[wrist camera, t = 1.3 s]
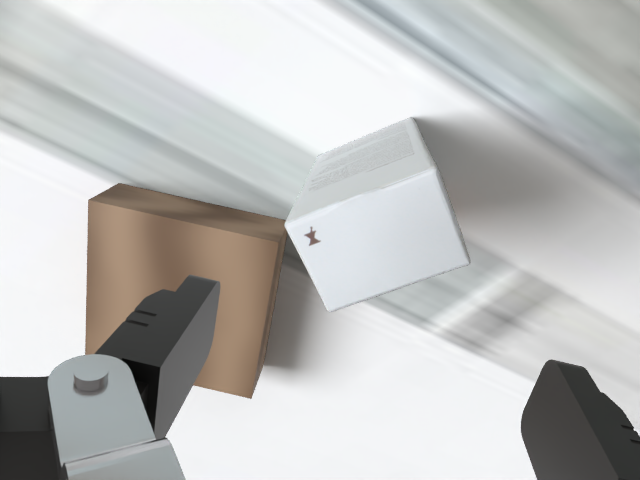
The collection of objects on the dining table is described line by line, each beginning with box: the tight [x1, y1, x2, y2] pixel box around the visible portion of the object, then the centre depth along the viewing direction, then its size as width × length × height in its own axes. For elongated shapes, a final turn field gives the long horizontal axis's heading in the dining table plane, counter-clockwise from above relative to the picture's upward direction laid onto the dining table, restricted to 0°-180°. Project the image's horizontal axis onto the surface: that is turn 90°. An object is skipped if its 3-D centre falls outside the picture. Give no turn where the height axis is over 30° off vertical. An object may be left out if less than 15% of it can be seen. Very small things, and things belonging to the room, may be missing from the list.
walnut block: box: [85, 183, 287, 399], centre depth 33 cm, size 11×11×4 cm
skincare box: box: [284, 117, 470, 312], centre depth 24 cm, size 6×4×12 cm
